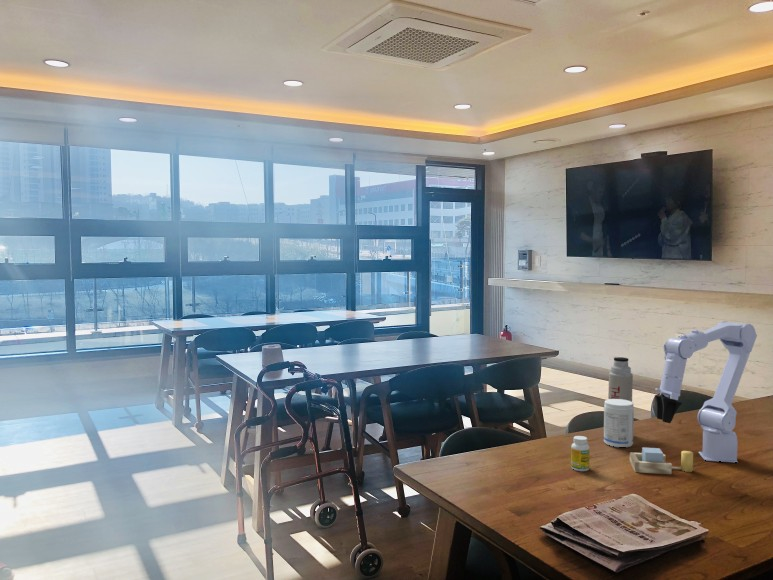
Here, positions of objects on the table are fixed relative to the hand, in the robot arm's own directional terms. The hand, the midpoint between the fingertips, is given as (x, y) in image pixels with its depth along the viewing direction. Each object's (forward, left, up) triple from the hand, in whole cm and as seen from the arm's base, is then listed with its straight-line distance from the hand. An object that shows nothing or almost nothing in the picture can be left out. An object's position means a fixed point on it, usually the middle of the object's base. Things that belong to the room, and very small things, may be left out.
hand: (663, 420), depth 190 cm
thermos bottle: (+8, -33, -15) cm, 37 cm away
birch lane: (+3, +1, -14) cm, 15 cm away
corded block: (-1, +1, -15) cm, 15 cm away
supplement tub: (+10, -22, -15) cm, 28 cm away
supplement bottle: (+25, +6, -15) cm, 29 cm away
